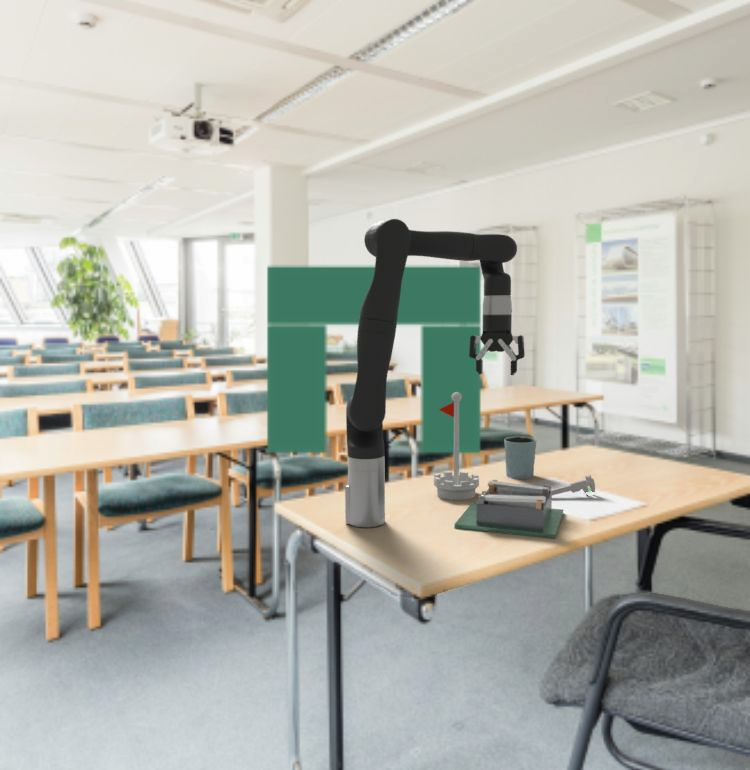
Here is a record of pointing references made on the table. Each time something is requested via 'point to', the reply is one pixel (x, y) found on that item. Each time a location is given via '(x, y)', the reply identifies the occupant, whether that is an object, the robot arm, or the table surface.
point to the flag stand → (455, 464)
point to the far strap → (517, 486)
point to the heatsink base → (472, 524)
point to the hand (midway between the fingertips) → (496, 374)
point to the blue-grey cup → (520, 457)
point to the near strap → (514, 498)
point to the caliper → (576, 486)
